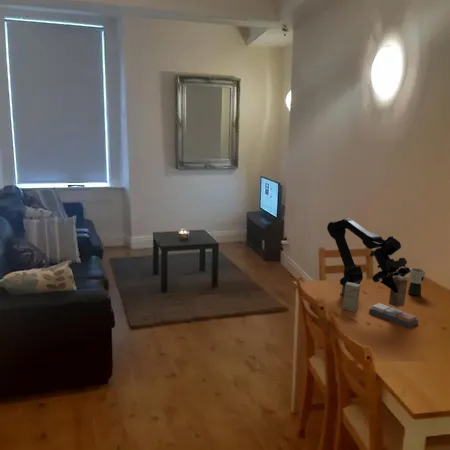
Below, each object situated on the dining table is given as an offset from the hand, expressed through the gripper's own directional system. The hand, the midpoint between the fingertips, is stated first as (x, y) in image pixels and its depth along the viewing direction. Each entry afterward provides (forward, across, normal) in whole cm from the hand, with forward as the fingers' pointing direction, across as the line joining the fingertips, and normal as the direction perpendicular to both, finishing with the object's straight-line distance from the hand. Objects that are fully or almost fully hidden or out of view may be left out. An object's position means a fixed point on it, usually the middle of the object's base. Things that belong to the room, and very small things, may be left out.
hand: (400, 291), depth 211 cm
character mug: (-4, +34, +22) cm, 41 cm away
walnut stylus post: (+4, 0, +6) cm, 7 cm away
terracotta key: (+11, 0, +5) cm, 12 cm away
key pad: (+8, -1, +10) cm, 13 cm away
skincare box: (-3, -11, +21) cm, 24 cm away
